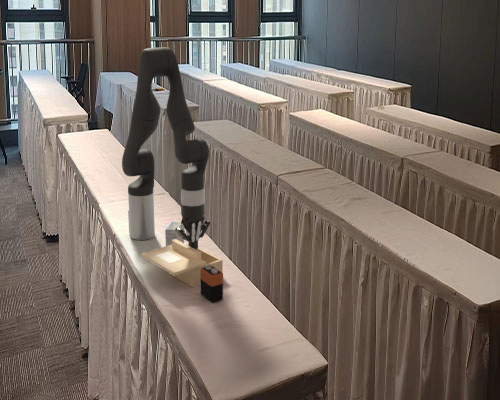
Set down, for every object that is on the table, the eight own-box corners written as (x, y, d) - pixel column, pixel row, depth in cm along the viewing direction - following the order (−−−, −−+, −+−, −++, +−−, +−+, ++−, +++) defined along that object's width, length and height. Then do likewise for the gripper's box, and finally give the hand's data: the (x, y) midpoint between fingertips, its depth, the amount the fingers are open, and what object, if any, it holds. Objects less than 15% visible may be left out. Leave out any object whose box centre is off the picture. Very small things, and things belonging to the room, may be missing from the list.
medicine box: (177, 253, 223) (177, 230, 221) (165, 251, 224) (165, 229, 221) (184, 244, 231) (183, 222, 228) (172, 243, 232) (172, 221, 229)
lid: (141, 256, 205) (141, 245, 204) (173, 246, 213) (172, 236, 211) (174, 275, 192) (173, 264, 191) (206, 264, 200) (206, 254, 198)
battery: (211, 303, 189) (211, 273, 185) (199, 294, 194) (199, 265, 191) (223, 300, 191) (223, 270, 188) (212, 291, 196) (212, 262, 193)
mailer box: (160, 268, 211) (160, 251, 209) (189, 258, 219) (189, 243, 217) (192, 287, 199) (192, 270, 197) (222, 276, 206) (222, 260, 204)
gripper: (202, 194, 208) (202, 242, 214) (168, 202, 200) (170, 252, 205) (216, 200, 203) (216, 249, 208) (182, 208, 194) (183, 260, 200)
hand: (193, 250), depth 207 cm, fingers closed
